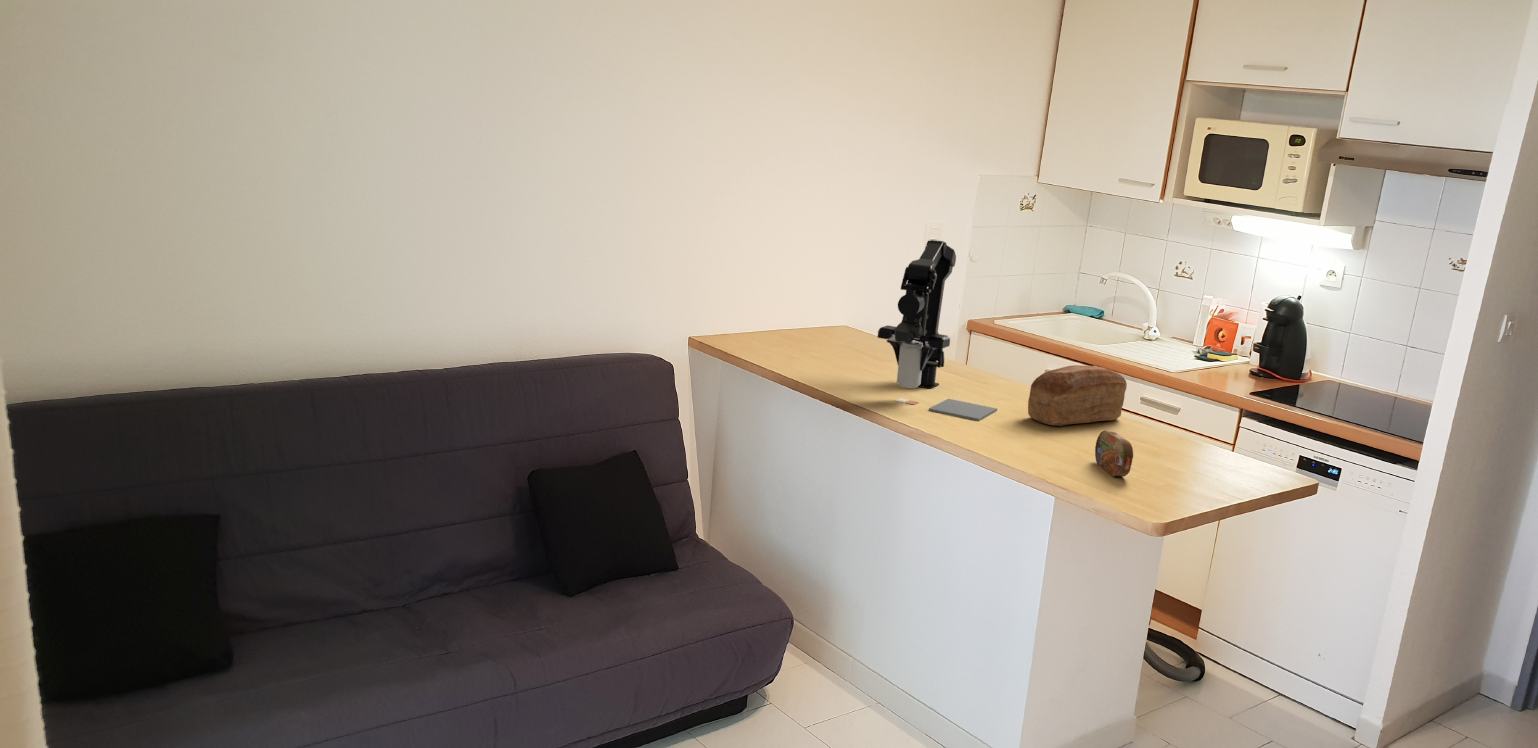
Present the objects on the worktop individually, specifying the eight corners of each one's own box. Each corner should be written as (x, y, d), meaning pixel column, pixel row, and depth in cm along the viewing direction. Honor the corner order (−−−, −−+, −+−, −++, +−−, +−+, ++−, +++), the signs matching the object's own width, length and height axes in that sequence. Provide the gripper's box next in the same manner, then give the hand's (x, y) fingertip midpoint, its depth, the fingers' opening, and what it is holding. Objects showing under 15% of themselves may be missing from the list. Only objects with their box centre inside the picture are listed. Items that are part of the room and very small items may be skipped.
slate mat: (948, 400, 293) (948, 398, 293) (997, 410, 287) (997, 408, 286) (928, 410, 282) (928, 408, 281) (979, 421, 275) (979, 418, 275)
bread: (1128, 422, 285) (1136, 370, 282) (1051, 430, 271) (1059, 376, 268) (1095, 410, 295) (1102, 359, 292) (1019, 417, 281) (1026, 365, 278)
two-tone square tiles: (899, 398, 292) (899, 398, 291) (918, 402, 289) (918, 402, 289) (894, 401, 289) (895, 400, 289) (914, 405, 286) (914, 404, 286)
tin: (1092, 460, 248) (1097, 425, 246) (1105, 460, 249) (1110, 426, 247) (1117, 481, 234) (1123, 445, 232) (1131, 482, 234) (1137, 445, 232)
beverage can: (919, 389, 284) (923, 345, 281) (895, 387, 285) (899, 343, 282) (920, 384, 290) (925, 341, 287) (897, 381, 291) (901, 338, 289)
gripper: (871, 309, 281) (866, 367, 284) (937, 320, 272) (931, 379, 275) (889, 304, 290) (883, 360, 294) (953, 315, 281) (947, 372, 285)
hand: (910, 368), depth 287 cm, fingers closed on beverage can, 6 cm apart
